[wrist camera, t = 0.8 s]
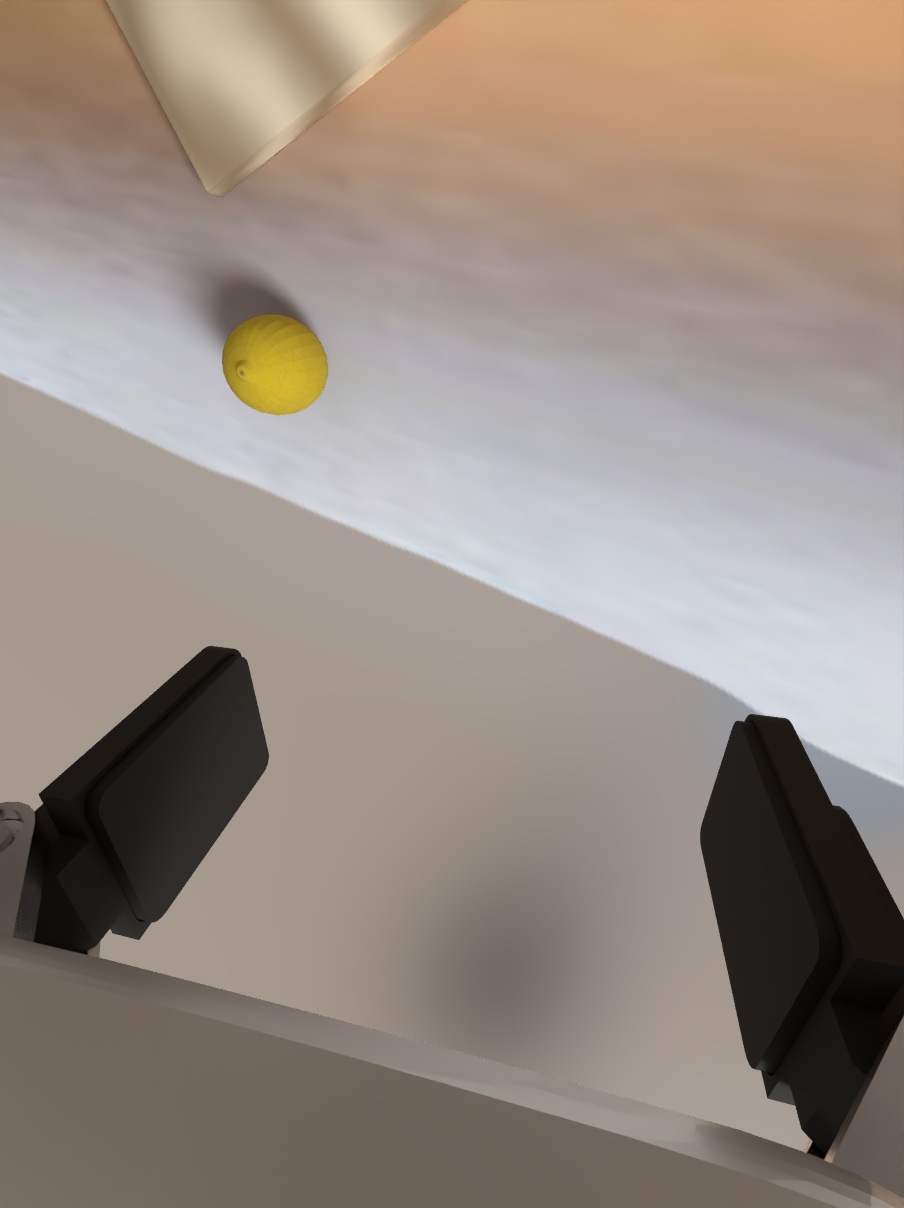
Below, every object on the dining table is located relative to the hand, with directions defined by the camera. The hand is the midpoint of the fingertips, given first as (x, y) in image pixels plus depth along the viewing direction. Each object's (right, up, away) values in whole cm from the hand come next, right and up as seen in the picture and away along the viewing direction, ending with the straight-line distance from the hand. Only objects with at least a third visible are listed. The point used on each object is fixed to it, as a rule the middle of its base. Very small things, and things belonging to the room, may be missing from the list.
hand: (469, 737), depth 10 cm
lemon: (-10, +19, +26) cm, 33 cm away
